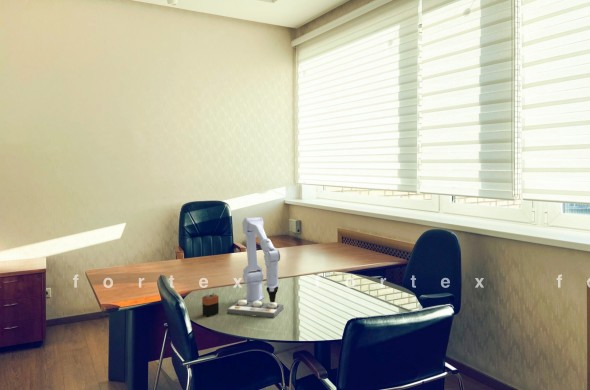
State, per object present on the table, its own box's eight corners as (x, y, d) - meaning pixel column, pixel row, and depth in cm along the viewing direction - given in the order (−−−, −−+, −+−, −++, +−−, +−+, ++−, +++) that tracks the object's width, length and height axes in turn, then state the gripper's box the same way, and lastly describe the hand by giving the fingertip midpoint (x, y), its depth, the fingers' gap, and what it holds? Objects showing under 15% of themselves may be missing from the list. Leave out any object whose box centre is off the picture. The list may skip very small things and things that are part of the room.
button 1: (240, 303, 242) (240, 299, 242) (248, 304, 241) (248, 300, 241) (236, 306, 238) (236, 301, 238) (244, 307, 237) (244, 302, 237)
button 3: (269, 306, 238) (269, 301, 237) (278, 307, 236) (278, 302, 236) (266, 309, 233) (266, 304, 233) (275, 310, 232) (275, 305, 232)
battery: (202, 315, 229) (201, 294, 229) (213, 312, 234) (213, 291, 233) (207, 317, 226) (207, 296, 226) (219, 314, 231) (218, 293, 230)
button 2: (254, 305, 240) (254, 300, 240) (263, 306, 239) (263, 301, 238) (251, 307, 236) (251, 303, 235) (259, 308, 234) (259, 303, 234)
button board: (239, 304, 245) (238, 300, 245) (283, 308, 239) (283, 304, 238) (227, 313, 232) (227, 308, 232) (274, 317, 225) (274, 312, 225)
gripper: (264, 271, 241) (265, 297, 242) (263, 278, 226) (263, 306, 227) (278, 271, 241) (279, 297, 242) (278, 278, 226) (278, 306, 227)
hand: (272, 302), depth 235 cm, fingers closed
